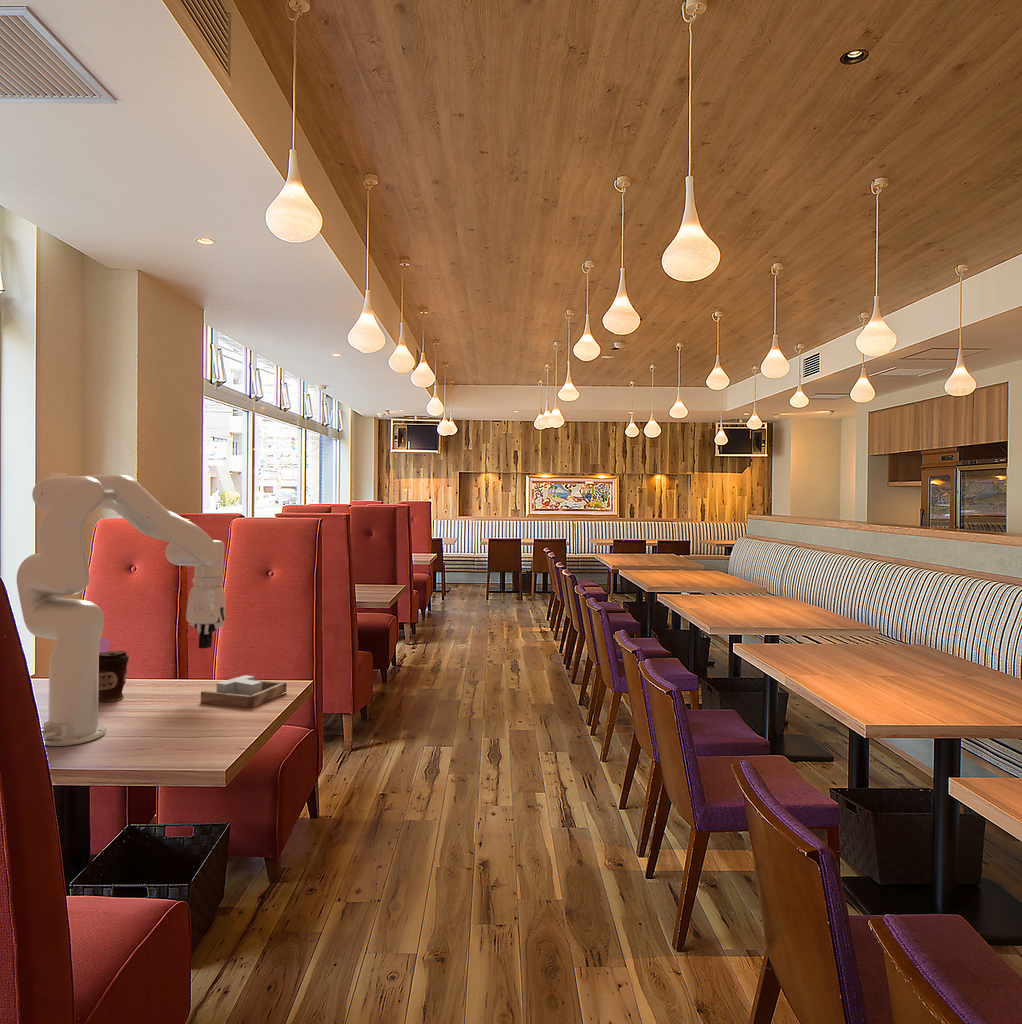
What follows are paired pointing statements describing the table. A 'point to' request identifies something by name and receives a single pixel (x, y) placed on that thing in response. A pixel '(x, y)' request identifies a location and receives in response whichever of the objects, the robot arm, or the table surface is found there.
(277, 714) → the table surface
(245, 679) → the tee block
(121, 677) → the coffee cup
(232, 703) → the corral
